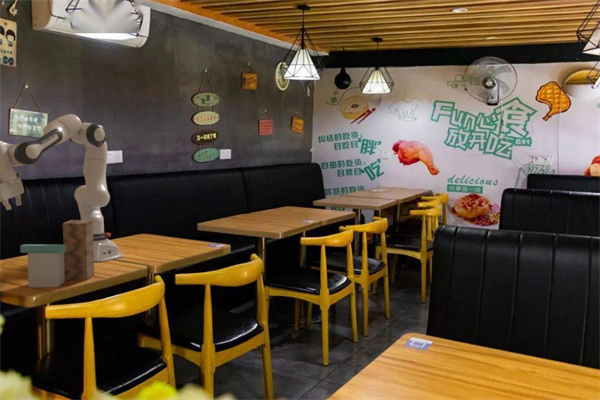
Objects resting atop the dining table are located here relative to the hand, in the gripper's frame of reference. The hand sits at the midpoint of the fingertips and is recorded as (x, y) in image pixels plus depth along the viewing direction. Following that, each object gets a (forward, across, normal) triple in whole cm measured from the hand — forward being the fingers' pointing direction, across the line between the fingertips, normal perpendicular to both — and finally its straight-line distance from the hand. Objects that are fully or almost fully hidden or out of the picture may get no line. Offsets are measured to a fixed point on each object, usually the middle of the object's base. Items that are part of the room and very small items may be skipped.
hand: (14, 207), depth 250 cm
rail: (+21, -12, -12) cm, 27 cm away
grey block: (+35, -13, -9) cm, 38 cm away
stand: (+38, 0, -19) cm, 42 cm away
